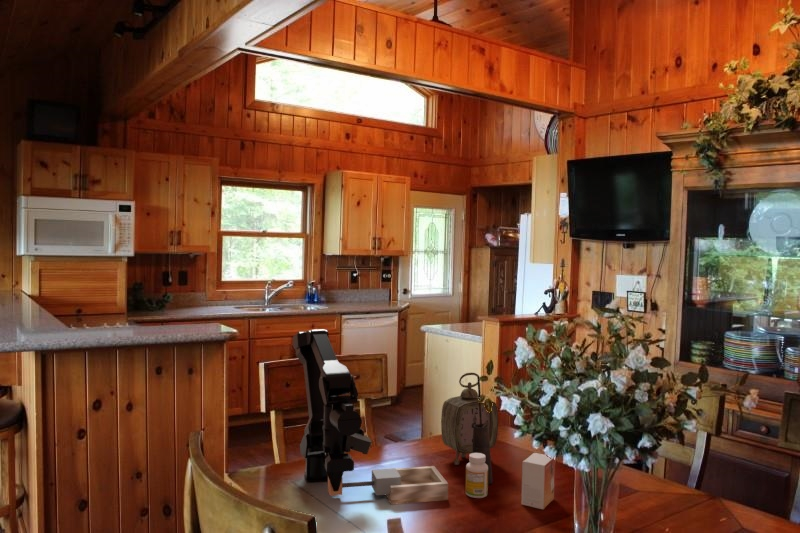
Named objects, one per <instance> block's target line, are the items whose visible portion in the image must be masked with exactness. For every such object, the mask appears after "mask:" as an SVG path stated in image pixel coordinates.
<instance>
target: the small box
mask: <svg viewBox="0 0 800 533" xmlns="http://www.w3.org/2000/svg"><path fill="white" fill-rule="evenodd" d="M546 455H547V454H544V453H543V454H542V453H537V452H533V453H532V454H531V455H529V456H528V457H527V458H525V459H524V460H523V461H521V463H522V464H521V465H522V467H521V499H520V500H521V503H520V504H521V505H522V506H527V507H531V508H535V509H539V510H545V508H546V507H547V506H549V504H550V503H551V502H553V501H554V500H555V473H556V472H555V471H556V459H555V460H553V459H550V458H549V457H547V456H546Z"/></svg>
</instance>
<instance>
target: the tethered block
mask: <svg viewBox="0 0 800 533" xmlns="http://www.w3.org/2000/svg"><path fill="white" fill-rule="evenodd" d="M394 485H401V476H400V475H399V473H398V471H397V470H396V467H395V468H381V469H371V480H370V481H367V480H366V481H355V482H353V481H352V482H343V478H342V479H341V483H340V487H339V490H338V491H333V488H332V485H331V482H330V480H329V477H328V481H327V491H328V495H329V496H342V495H343V488H344V489H345V488H355V487H356V488H358V487H368V486H369V487H370V486H371V488H372V489H373V491H374V493H375V496H383V495H384V496H386V495H387V494H390V486H394Z"/></svg>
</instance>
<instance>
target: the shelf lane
mask: <svg viewBox="0 0 800 533" xmlns="http://www.w3.org/2000/svg"><path fill="white" fill-rule="evenodd" d="M395 468H396V467H395ZM396 470H397V471H398V473H399V475H400V476H401V485H394V486H390V494H387V495H385V496H386V498H387V500H388V502H389V503H390V505H401V504H412V503H413V504H415V503H427V502H439V501H448V500H449V482H448V481H447V480H446V479H445V477H443V475H442V474H441V473H440V471H439V470H438V469H437V467H436V466H435V465H431V466H415V467H401V468H400V467H398V468H396Z"/></svg>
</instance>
